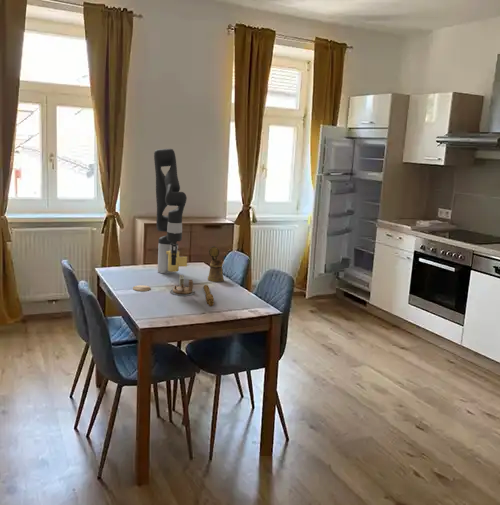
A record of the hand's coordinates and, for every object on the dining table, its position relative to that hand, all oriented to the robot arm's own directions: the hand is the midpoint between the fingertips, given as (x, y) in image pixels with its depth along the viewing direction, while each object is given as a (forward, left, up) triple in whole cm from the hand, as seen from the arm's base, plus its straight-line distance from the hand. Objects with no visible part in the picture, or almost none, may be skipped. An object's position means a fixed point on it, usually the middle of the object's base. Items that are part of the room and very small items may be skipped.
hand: (173, 263), depth 282 cm
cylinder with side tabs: (0, +1, -4) cm, 4 cm away
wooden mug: (-27, +24, -15) cm, 40 cm away
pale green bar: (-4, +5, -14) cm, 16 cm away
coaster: (-3, -16, -15) cm, 22 cm away
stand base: (+2, +5, -15) cm, 16 cm away
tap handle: (+10, +18, -15) cm, 26 cm away
